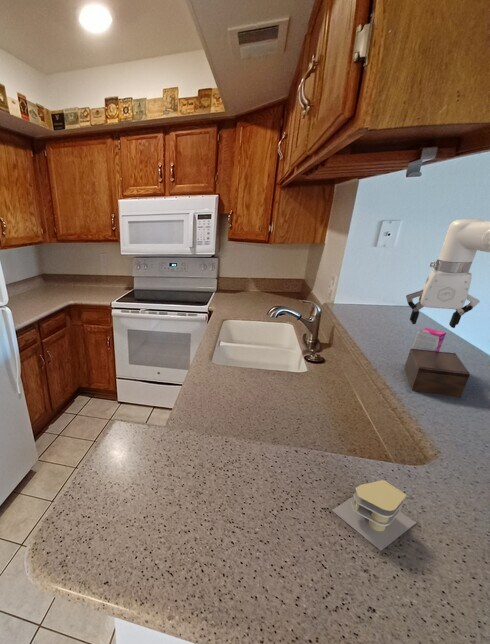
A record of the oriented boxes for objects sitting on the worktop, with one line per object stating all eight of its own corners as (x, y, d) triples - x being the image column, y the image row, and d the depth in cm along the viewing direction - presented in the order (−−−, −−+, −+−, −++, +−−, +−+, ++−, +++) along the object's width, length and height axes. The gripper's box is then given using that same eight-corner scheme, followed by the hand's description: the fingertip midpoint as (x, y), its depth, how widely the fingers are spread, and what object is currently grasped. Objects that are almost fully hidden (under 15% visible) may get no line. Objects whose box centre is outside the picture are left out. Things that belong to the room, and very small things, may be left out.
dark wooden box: (447, 374, 100) (455, 353, 96) (460, 397, 88) (470, 374, 85) (404, 369, 104) (410, 348, 101) (411, 390, 93) (419, 367, 90)
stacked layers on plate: (366, 488, 63) (373, 466, 61) (416, 522, 56) (426, 500, 53) (331, 510, 59) (337, 488, 57) (380, 551, 52) (389, 527, 49)
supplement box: (426, 370, 102) (438, 336, 97) (405, 364, 107) (416, 331, 102) (434, 365, 105) (446, 332, 100) (414, 359, 109) (424, 327, 104)
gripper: (417, 268, 92) (400, 325, 100) (497, 271, 86) (471, 332, 94) (413, 263, 98) (396, 318, 106) (487, 265, 92) (464, 323, 100)
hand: (432, 324), depth 100 cm, fingers open, 9 cm apart
